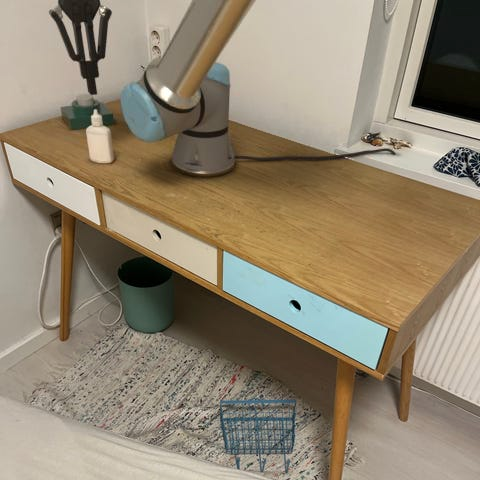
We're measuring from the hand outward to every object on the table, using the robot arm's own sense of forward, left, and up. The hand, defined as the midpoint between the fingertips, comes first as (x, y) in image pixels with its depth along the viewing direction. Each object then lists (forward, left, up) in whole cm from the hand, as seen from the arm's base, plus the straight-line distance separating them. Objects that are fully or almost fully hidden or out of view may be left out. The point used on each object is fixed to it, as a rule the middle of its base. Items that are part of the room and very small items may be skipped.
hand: (92, 92), depth 116 cm
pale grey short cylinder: (-3, -23, -10) cm, 25 cm away
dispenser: (-3, -23, -14) cm, 27 cm away
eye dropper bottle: (+1, +4, -15) cm, 15 cm away
